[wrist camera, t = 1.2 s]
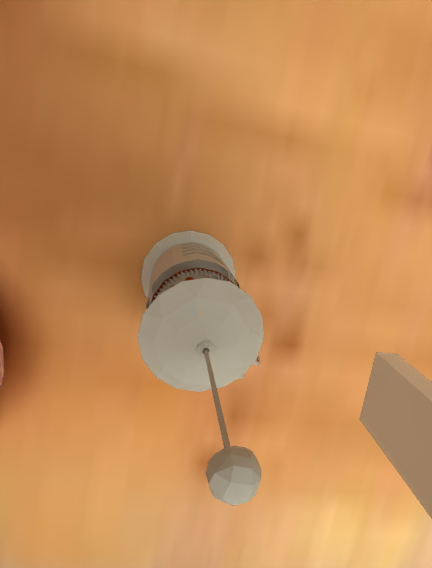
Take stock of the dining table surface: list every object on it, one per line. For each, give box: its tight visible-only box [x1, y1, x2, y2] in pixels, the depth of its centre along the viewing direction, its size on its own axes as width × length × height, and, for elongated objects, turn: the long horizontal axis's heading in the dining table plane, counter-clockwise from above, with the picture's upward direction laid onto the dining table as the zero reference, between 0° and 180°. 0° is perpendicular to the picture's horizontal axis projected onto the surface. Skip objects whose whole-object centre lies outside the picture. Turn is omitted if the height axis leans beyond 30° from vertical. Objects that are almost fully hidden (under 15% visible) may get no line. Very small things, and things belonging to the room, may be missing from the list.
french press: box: [138, 230, 264, 506], centre depth 23 cm, size 10×12×25 cm
